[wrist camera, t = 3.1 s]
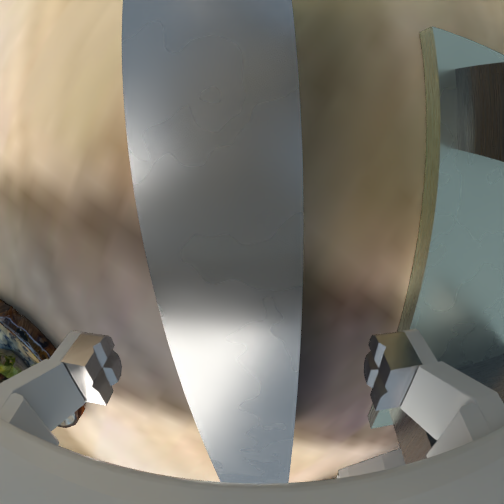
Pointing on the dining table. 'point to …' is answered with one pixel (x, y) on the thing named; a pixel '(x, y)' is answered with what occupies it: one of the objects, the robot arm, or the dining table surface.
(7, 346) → the burger
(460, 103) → the bracket stand
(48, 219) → the dining table surface
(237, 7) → the rail
